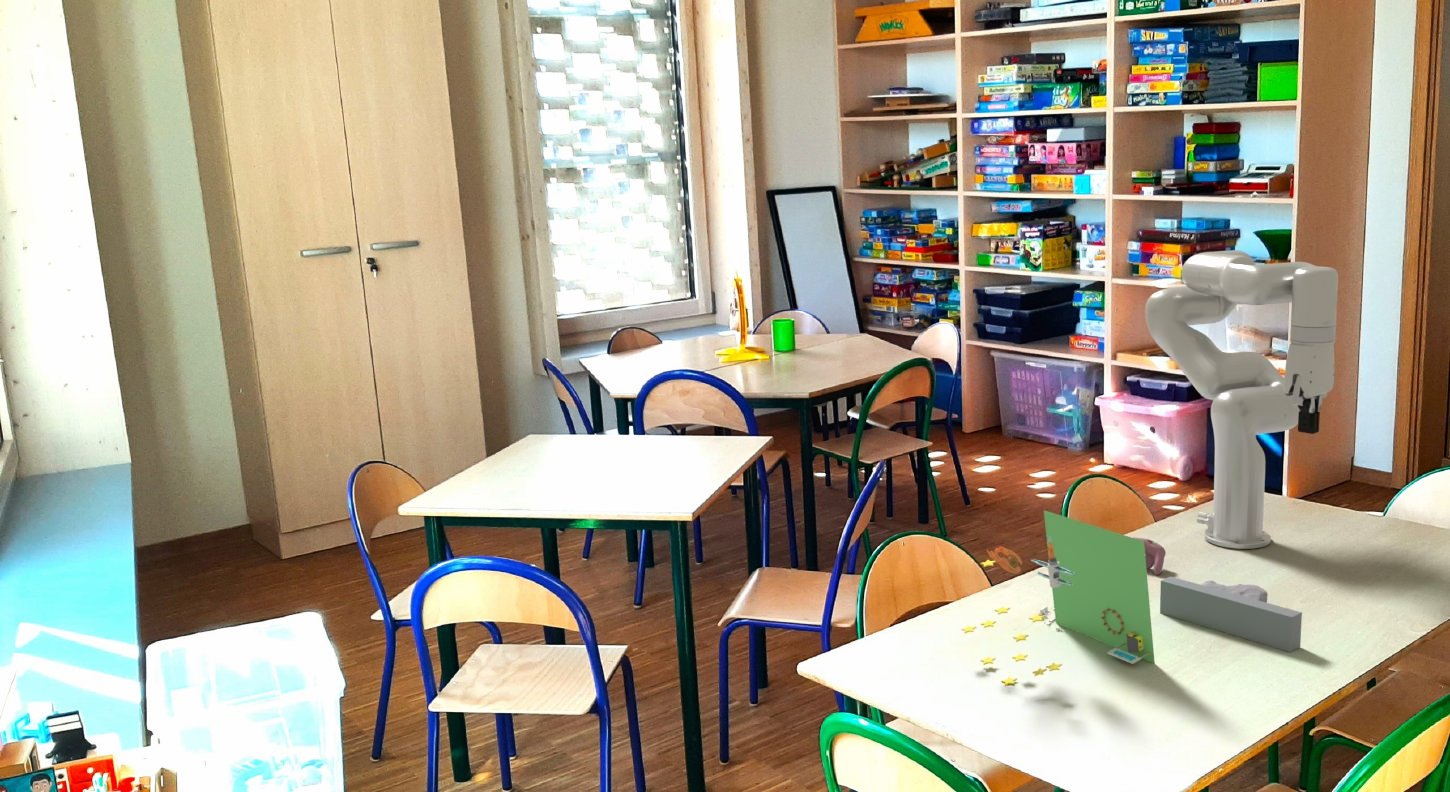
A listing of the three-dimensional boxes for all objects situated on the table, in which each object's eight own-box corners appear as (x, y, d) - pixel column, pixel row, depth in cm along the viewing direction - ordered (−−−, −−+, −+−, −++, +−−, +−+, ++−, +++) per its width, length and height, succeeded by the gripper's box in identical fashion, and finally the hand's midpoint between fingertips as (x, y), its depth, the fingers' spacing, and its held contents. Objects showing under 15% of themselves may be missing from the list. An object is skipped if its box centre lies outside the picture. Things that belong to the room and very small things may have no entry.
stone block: (1260, 634, 216) (1269, 604, 224) (1259, 610, 215) (1268, 580, 222) (1188, 625, 222) (1199, 596, 230) (1186, 602, 221) (1198, 573, 229)
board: (1160, 612, 223) (1160, 580, 221) (1169, 608, 224) (1170, 576, 223) (1290, 652, 204) (1292, 617, 203) (1300, 646, 206) (1301, 612, 204)
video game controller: (1164, 578, 243) (1169, 542, 245) (1159, 574, 240) (1164, 538, 241) (1113, 571, 249) (1117, 536, 250) (1107, 567, 245) (1112, 532, 246)
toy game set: (950, 676, 209) (932, 544, 203) (1058, 621, 221) (1044, 496, 214) (1044, 724, 191) (1027, 581, 185) (1156, 662, 202) (1145, 526, 196)
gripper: (1313, 327, 238) (1309, 422, 242) (1271, 338, 229) (1267, 436, 233) (1353, 331, 232) (1348, 428, 236) (1311, 342, 223) (1307, 442, 227)
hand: (1308, 431), depth 234 cm, fingers closed
